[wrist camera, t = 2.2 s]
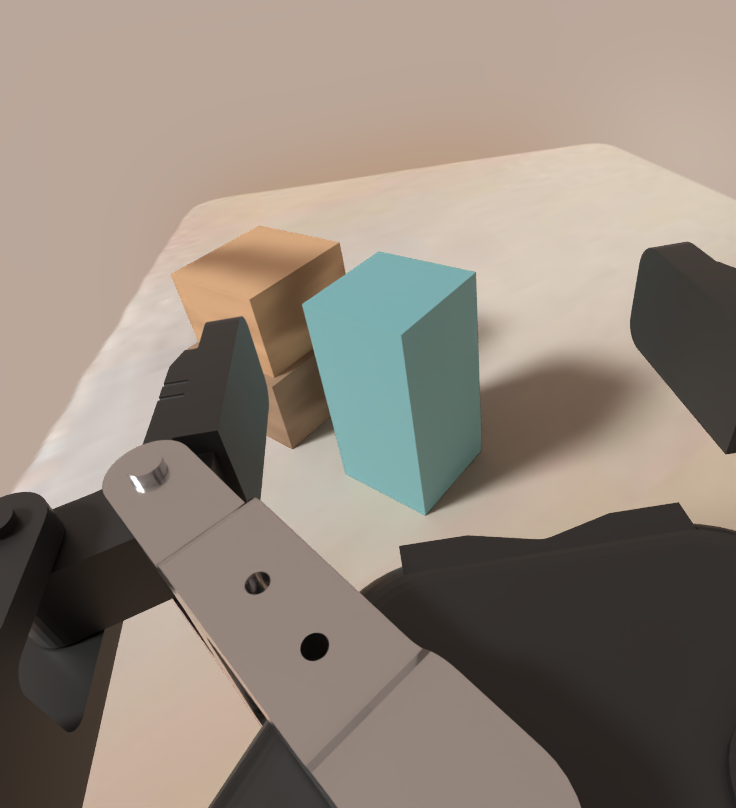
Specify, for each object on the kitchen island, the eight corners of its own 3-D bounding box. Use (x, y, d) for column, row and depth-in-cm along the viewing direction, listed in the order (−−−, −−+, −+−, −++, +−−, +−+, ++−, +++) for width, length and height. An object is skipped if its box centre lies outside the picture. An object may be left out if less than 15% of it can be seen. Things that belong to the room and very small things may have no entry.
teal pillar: (403, 417, 35) (378, 251, 28) (481, 449, 32) (475, 272, 25) (345, 473, 32) (301, 304, 25) (425, 515, 29) (401, 335, 22)
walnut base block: (294, 348, 43) (278, 290, 40) (375, 379, 39) (364, 316, 35) (213, 408, 39) (187, 348, 36) (293, 451, 34) (271, 387, 31)
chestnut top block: (278, 294, 40) (259, 225, 36) (353, 317, 36) (339, 242, 32) (199, 345, 36) (170, 274, 33) (274, 377, 32) (249, 299, 29)
